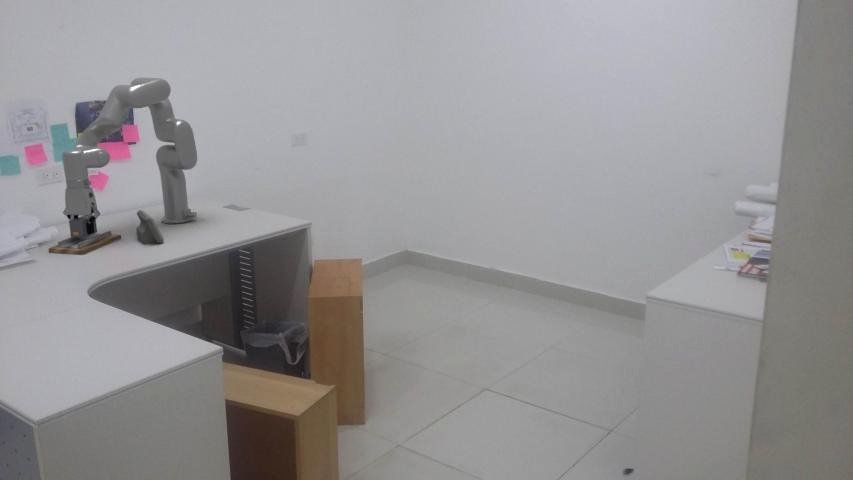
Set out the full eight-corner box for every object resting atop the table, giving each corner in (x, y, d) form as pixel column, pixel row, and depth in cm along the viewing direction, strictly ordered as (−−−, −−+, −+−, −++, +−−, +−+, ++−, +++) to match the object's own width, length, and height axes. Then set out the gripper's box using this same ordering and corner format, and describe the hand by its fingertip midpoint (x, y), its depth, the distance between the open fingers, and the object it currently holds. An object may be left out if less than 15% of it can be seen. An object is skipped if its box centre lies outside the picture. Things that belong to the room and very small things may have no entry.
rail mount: (121, 238, 280) (120, 229, 279) (83, 254, 259) (82, 245, 258) (88, 236, 283) (87, 228, 282) (49, 252, 262) (47, 243, 261)
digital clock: (164, 244, 272) (161, 216, 269) (138, 247, 268) (135, 218, 265) (161, 233, 286) (159, 207, 283) (137, 236, 283) (134, 209, 280)
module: (97, 232, 273) (95, 216, 271) (82, 238, 265) (79, 221, 263) (85, 231, 274) (83, 215, 272) (69, 237, 266) (67, 221, 264)
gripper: (105, 183, 266) (111, 231, 271) (64, 181, 270) (70, 229, 275) (91, 186, 259) (98, 236, 264) (50, 185, 263) (56, 234, 268)
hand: (84, 232), depth 269 cm, fingers closed on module, 5 cm apart
